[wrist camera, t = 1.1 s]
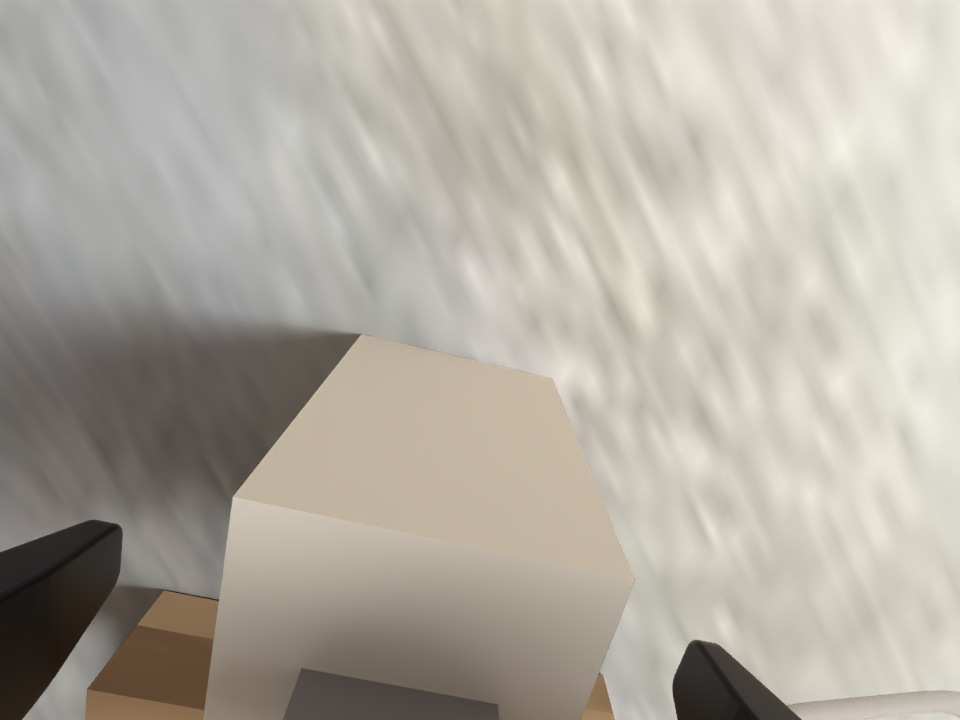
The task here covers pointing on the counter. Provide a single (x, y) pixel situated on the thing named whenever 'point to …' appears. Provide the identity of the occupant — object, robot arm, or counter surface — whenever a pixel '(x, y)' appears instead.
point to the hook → (880, 706)
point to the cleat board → (189, 667)
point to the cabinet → (418, 553)
